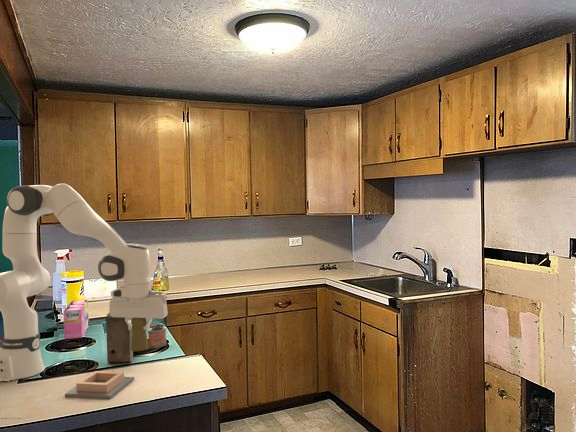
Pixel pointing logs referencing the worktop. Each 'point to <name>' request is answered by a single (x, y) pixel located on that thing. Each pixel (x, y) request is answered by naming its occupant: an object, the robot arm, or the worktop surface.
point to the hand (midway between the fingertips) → (139, 330)
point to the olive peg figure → (139, 335)
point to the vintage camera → (118, 340)
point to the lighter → (157, 336)
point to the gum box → (76, 319)
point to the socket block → (100, 385)
